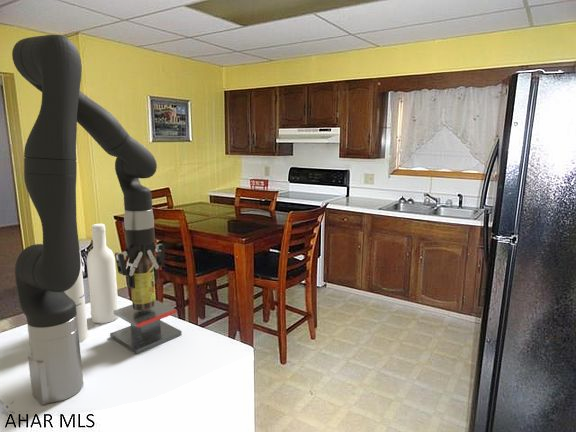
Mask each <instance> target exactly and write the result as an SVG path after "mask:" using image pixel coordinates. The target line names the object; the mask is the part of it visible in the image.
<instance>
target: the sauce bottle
mask: <svg viewBox="0 0 576 432" xmlns="http://www.w3.org/2000/svg"><path fill="white" fill-rule="evenodd" d="M146 250H147V245H142V246H139V251H141V252H142V253H143V255H142V257H141V258H140V261H139V263H138V266H137V268H135V271H134V274H133V275H134V280H135V288H133V289H131V288H130V292H131V293H130V294H131V303H132V304H131V305H133V309H134V310H147V309H150V308H152V307H154V305H155V300H156V286H155V283H156V282H155V281H154V267H153V262H152V260H151V259H150V258H149V257H148V255H147V253H146ZM130 263H131V264H133V263H134V261H132V260H131V262H130Z"/></svg>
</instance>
